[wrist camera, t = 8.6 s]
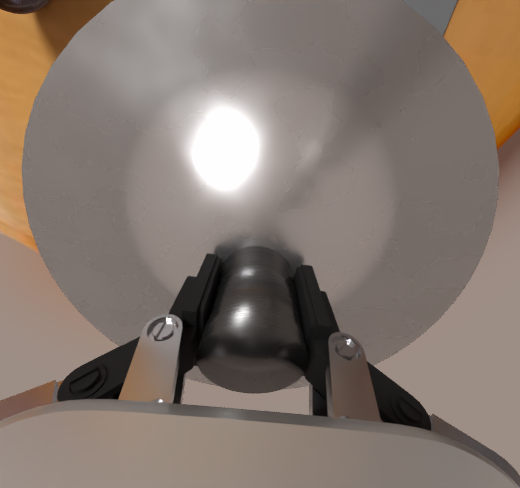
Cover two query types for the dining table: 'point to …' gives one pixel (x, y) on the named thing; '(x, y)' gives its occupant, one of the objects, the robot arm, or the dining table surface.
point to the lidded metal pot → (261, 174)
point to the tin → (22, 5)
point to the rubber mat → (434, 11)
